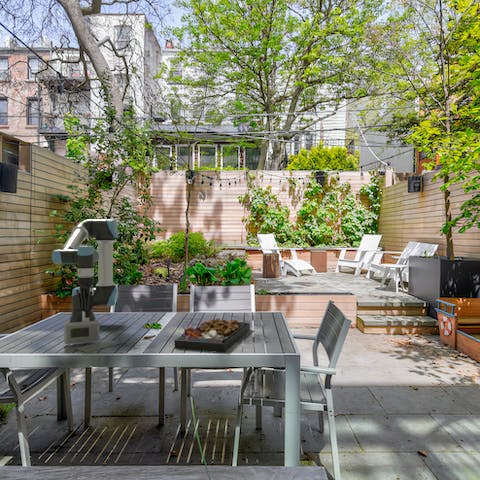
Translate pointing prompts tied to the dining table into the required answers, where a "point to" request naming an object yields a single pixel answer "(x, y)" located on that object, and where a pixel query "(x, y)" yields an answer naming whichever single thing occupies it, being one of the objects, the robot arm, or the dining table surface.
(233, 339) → the food platter
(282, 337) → the dining table surface
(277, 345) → the dining table surface
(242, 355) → the dining table surface
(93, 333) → the digital clock
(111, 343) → the mat
